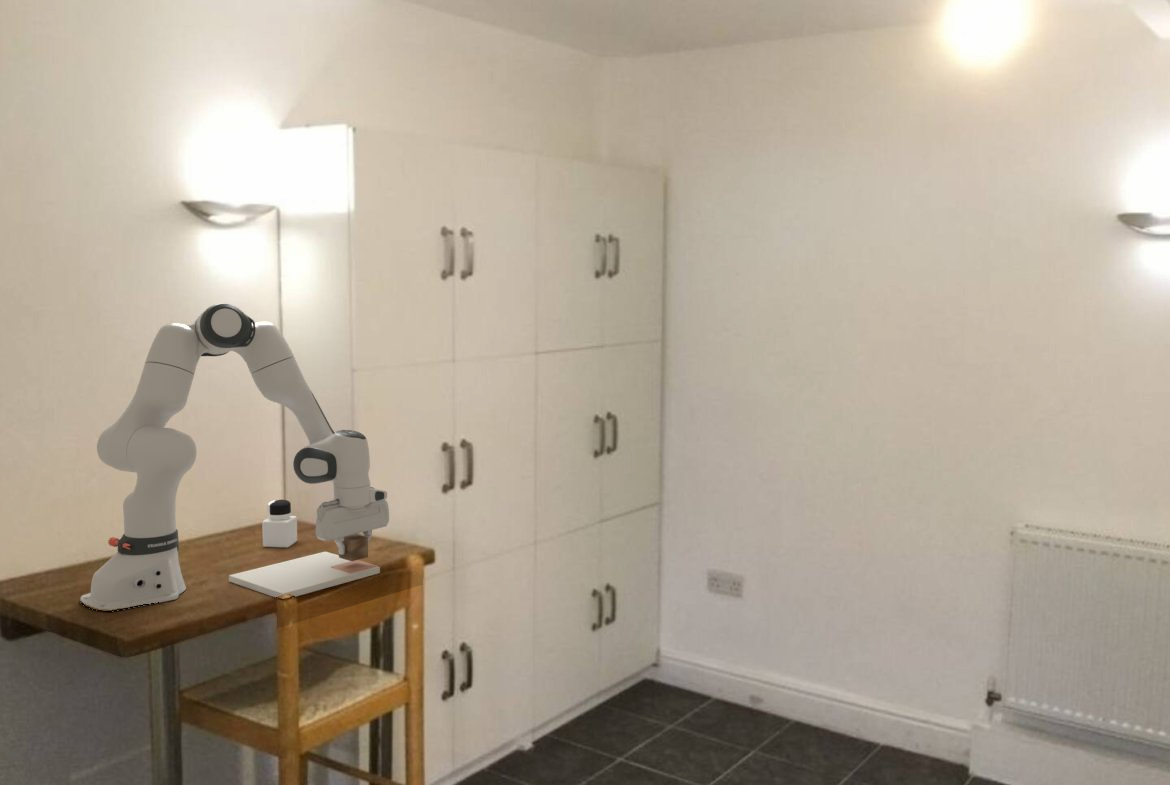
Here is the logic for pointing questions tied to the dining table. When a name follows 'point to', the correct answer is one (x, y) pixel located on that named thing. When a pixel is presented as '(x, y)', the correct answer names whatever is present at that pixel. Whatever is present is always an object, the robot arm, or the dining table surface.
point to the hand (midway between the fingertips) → (353, 551)
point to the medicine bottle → (279, 525)
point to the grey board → (304, 574)
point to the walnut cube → (355, 547)
